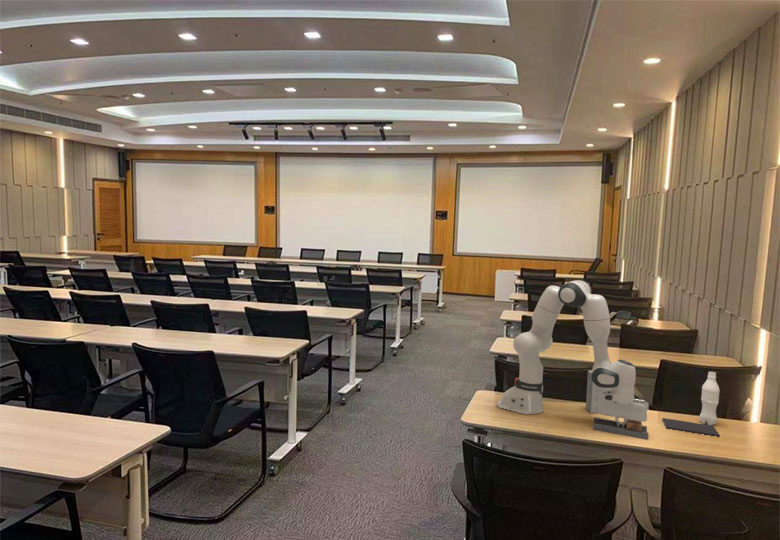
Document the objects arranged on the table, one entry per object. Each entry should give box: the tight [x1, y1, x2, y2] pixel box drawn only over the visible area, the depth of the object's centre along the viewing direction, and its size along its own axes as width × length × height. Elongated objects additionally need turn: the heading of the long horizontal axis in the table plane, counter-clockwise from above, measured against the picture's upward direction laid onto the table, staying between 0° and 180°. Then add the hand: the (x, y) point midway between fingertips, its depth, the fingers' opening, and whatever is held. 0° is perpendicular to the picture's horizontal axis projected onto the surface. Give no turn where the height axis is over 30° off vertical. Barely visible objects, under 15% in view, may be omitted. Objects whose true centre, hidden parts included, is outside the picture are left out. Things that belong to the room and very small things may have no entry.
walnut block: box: [626, 419, 643, 432], centre depth 222 cm, size 6×6×5 cm
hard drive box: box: [585, 369, 613, 415], centre depth 248 cm, size 16×8×20 cm, turn 84°
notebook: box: [662, 417, 720, 438], centre depth 232 cm, size 13×2×21 cm
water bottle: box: [699, 371, 721, 426], centre depth 238 cm, size 7×7×25 cm
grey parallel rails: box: [592, 416, 649, 441], centre depth 224 cm, size 22×10×2 cm, turn 66°
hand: (620, 427), depth 224 cm, fingers closed
